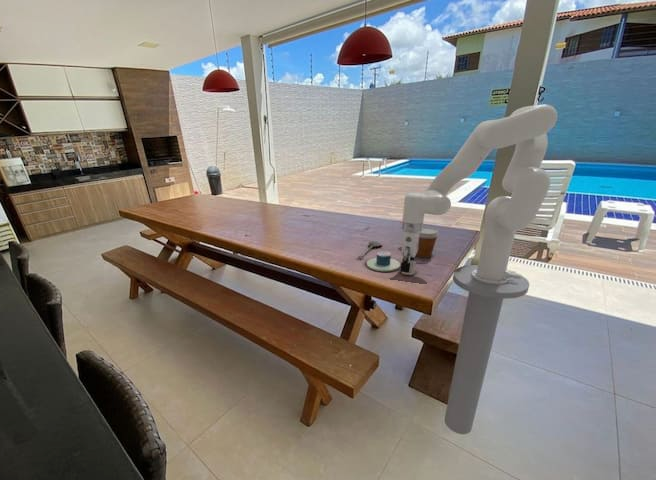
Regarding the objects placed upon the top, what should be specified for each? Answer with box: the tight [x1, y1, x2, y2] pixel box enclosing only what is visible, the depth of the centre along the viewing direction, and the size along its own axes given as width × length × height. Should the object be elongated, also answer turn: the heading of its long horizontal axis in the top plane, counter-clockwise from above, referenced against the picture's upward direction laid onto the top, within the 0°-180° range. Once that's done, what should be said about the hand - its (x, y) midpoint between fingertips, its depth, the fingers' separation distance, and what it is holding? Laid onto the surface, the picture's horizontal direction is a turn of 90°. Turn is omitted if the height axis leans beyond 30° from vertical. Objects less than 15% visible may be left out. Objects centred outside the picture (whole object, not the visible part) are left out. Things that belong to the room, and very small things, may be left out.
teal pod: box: [376, 250, 392, 266], centre depth 131 cm, size 6×6×4 cm
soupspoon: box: [357, 240, 383, 260], centre depth 147 cm, size 22×3×7 cm
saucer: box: [366, 257, 401, 272], centre depth 132 cm, size 14×14×1 cm
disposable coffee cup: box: [416, 226, 439, 259], centre depth 137 cm, size 10×10×12 cm
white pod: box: [400, 260, 417, 276], centre depth 123 cm, size 5×5×4 cm
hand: (407, 267), depth 123 cm, fingers open, 9 cm apart
